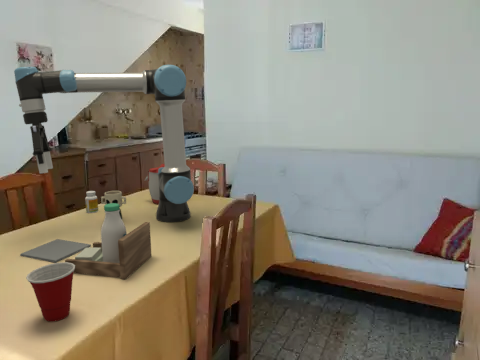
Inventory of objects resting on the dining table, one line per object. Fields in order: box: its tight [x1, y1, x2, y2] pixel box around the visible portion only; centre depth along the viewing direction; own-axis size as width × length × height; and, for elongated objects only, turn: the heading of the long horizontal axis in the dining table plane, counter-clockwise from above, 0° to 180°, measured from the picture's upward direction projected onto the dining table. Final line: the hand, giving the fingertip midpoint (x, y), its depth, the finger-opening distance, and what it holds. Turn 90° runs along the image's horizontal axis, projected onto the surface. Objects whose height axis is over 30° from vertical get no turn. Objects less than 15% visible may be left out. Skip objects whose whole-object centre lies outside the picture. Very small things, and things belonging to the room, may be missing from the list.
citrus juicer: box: [144, 163, 165, 205], centre depth 207 cm, size 16×17×20 cm
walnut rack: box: [64, 221, 152, 280], centre depth 129 cm, size 20×18×12 cm
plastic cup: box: [25, 261, 75, 322], centre depth 98 cm, size 11×11×12 cm
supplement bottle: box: [84, 190, 99, 214], centre depth 191 cm, size 5×5×10 cm
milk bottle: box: [100, 203, 127, 263], centre depth 128 cm, size 8×8×20 cm
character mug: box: [100, 190, 127, 220], centre depth 175 cm, size 11×7×13 cm, turn 89°
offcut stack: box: [74, 247, 103, 262], centre depth 131 cm, size 7×10×4 cm
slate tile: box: [19, 238, 92, 264], centre depth 142 cm, size 16×16×1 cm
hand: (46, 170), depth 148 cm, fingers open, 13 cm apart
